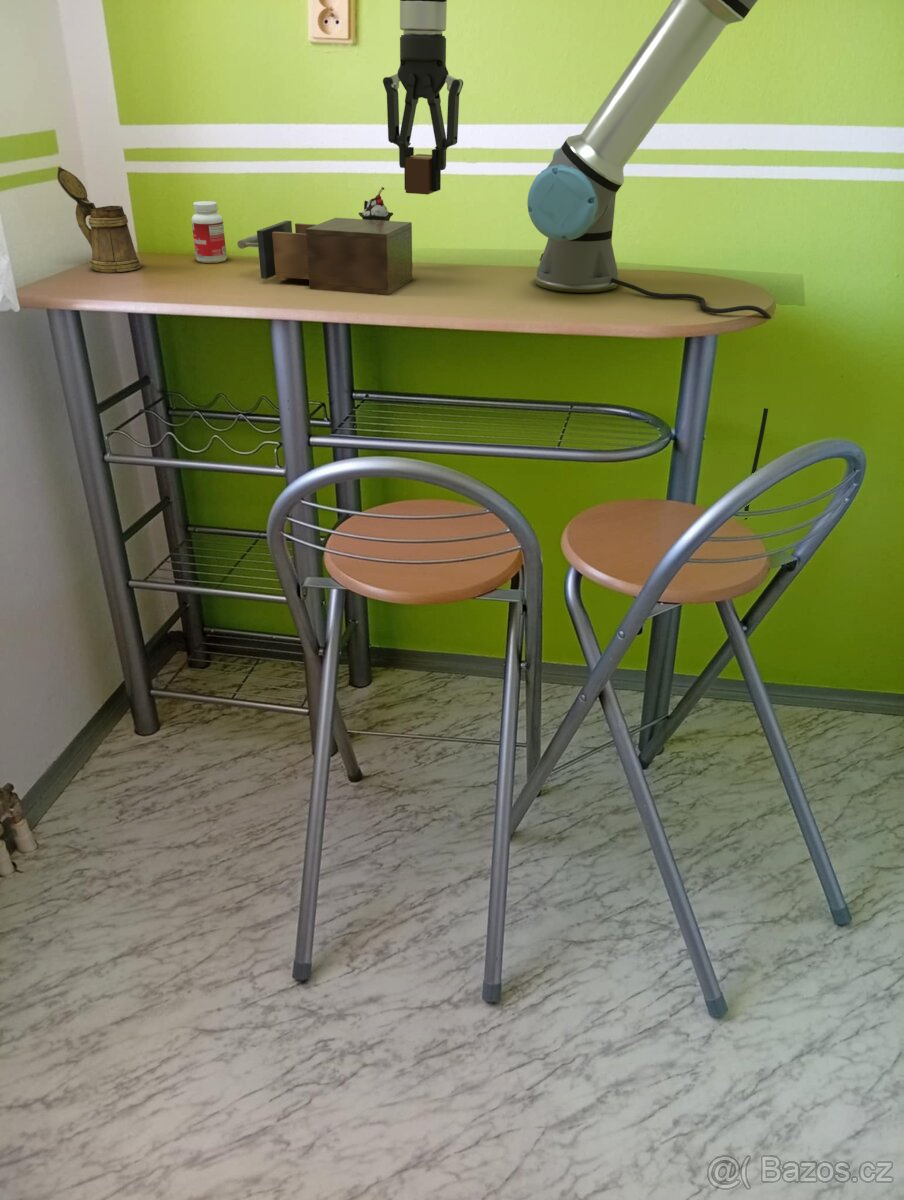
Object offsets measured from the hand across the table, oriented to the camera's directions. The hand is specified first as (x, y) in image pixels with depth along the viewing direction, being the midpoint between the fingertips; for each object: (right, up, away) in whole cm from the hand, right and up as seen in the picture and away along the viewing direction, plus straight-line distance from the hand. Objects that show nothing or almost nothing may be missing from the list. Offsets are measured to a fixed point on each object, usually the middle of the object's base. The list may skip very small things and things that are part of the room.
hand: (422, 189), depth 165 cm
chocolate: (0, 0, 0) cm, 0 cm away
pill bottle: (-44, -2, +29) cm, 53 cm away
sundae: (-10, -5, +25) cm, 27 cm away
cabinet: (-12, -13, +12) cm, 21 cm away
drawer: (-25, -10, +14) cm, 30 cm away
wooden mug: (-63, -6, +22) cm, 67 cm away
